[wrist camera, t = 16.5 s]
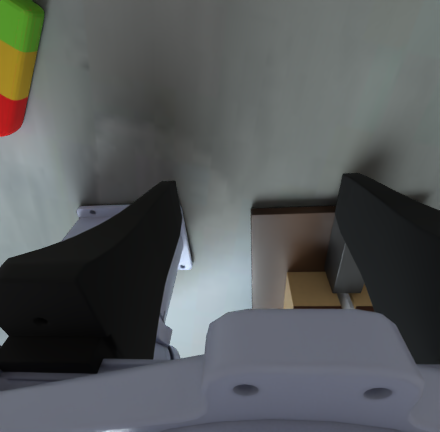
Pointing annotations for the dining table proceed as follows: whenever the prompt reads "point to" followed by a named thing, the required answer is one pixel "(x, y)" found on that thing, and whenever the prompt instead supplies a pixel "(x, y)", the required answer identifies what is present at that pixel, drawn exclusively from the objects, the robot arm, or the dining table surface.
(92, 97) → the dining table surface
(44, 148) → the dining table surface
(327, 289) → the cake
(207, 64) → the dining table surface
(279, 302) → the board
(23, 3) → the popsicle
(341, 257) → the cake knife
